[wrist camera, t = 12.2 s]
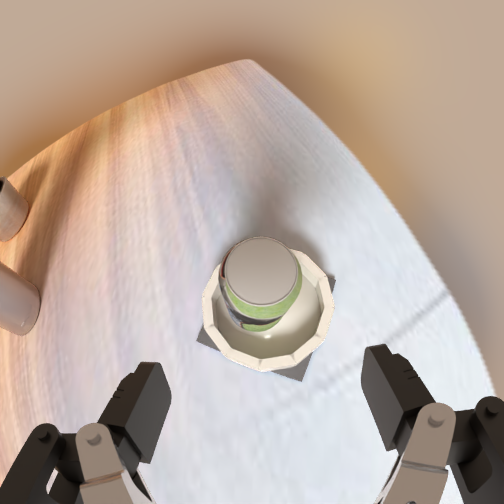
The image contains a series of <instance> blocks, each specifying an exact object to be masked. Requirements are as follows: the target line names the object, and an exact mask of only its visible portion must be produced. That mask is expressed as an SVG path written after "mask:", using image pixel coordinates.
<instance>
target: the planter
mask: <svg viewBox="0 0 504 504" xmlns="http://www.w3.org/2000/svg"><path fill="white" fill-rule="evenodd" d="M28 209H29V205H28V202H27V201H26V200H25V199H24V198H23V196H22V195H21V194H20V193H19V192H18V191H17V190H16V189H15V188H14V187H13V186H12V185H11V183H10V182H9V181H8V180H7V179H6V178H5V177H0V240H1V241H2V242H6V241H9V240H10V239H12V238H13V237H14V236H15V235H16V234H17V233H18V232H19V230H20V229H21V227H22V226H23V224H24V222H25V220H26V218H27V214H28Z"/></svg>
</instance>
